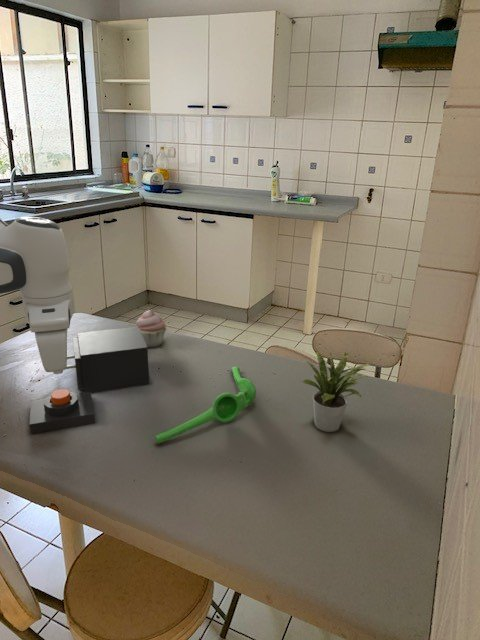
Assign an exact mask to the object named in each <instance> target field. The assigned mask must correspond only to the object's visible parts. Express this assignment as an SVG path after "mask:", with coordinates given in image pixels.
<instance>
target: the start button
mask: <svg viewBox="0 0 480 640" xmlns="http://www.w3.org/2000/svg"><path fill="white" fill-rule="evenodd" d="M70 392H71V391H70V390H68V389H63V388H62V389H56V390H54V391H53V392H51V394H50V395H51V401H52V404H53V405H64V404H66V403H68V402H70Z"/></svg>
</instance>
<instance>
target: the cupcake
mask: <svg viewBox="0 0 480 640" xmlns="http://www.w3.org/2000/svg"><path fill="white" fill-rule="evenodd" d="M133 327H139V329H140V331H141V334H142V336H143V338H144V340H145V343H146V345H147V347H148V348H155V347H156V348H157V347H159V346H161V344H162V343H163V341H164V337H165V333H166V331H167V329H168V328H167V327H168V325H167V324H166V323H165V320H164V319H163V318H162V317H161V315H160V314H158V313H157V312H155V311H153V310H152V309H148V310H146V311H143V314H142V315H141V316H139V318H137V321H136V324H135V325H134V326H133Z"/></svg>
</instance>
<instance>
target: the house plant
mask: <svg viewBox="0 0 480 640" xmlns="http://www.w3.org/2000/svg"><path fill="white" fill-rule="evenodd" d="M315 354H316V359H317V361H318V367H319V370H318V369H317V367H315V365H313V363H311V362H309V361H306V363H307V364H308V365H309V366H310V367H311V369H312V370H313V372H314V373H315V374H314V375H313V377H314V379H315V381H316V382H315V381H313V380H311V379H303V380H301V381H300V383H303V384H305V385H309V386H312V387H315V388H317V391H316V392H314V393H313V395H312V405H313V420H314V425H315V427H316V428H317V429H318V430H320V431H323V432H328V433H331V432H336V431H338V430H339V429H340V426H341V424H342V420H343V417H344V415H345V411H346V408H347V406H348V402H349V400H348V398H347V397H349V396H351V395H357V396H359V398H360V399H361V400H362V397H363V394H362V395H361V393H360V392H359V391H358V390H356V389H354V388H350V387H353V386H354V385H357V384H358V382H357V380H359V379H363V378H364V377H365V378H368V376H367V375H365V374H364V373H359V372H360V371H364V370H365V368H364V367H368V366H371V365H372V363H365V364H361V365H358V366H356V367H350V368H347V369H345V368H346V366H347V362H348V358H349V356H350V352H348V353H347V351H345V353H344V354H343V356H342V357H341V358H340V360H339V362H338V364H337V365H336V367H335V362H334V358H333V355H332V353H331V352H329V356H330V357H329V359H330V367H327V363H326V360H325V358H323V356H322V355H321V353H320V351H318V350H317V349H315ZM328 370H329V376H328ZM346 372H347V373H346ZM344 373H346V374H345V375H343V376H342V374H344ZM355 376H358V377H355ZM346 392H347V393H349V394H347V395H344V394H343V393H346Z"/></svg>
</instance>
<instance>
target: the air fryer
mask: <svg viewBox="0 0 480 640" xmlns="http://www.w3.org/2000/svg"><path fill="white" fill-rule="evenodd" d="M76 336H77V338H78V343H79V350H80V358H81V367H82V376H83V386H84V389H83V393H85V392H91V394H93V393H97V392H98V393H99V392H106V391H111V390H117V389H124V388H130V387H139V386H144V385H145V386H146V385H150V372H149V371H150V369H149V368H150V367H149V351H148V349H149V347H147V345H146V343H145V340H144V338H143V336H142V334H141V331H140V329H139V327H134V326H131V327H129V326H128V327H120V328H113V329H112V328H111V329H103V330H94V331H93V330H92V331H84V332H77V335H76Z"/></svg>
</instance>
